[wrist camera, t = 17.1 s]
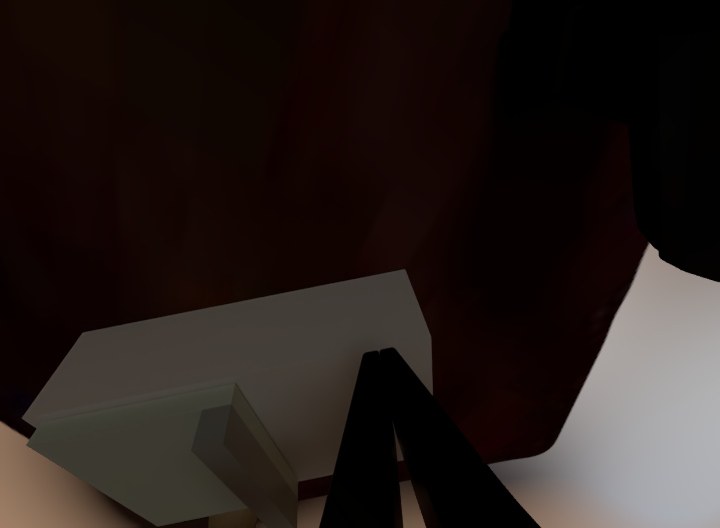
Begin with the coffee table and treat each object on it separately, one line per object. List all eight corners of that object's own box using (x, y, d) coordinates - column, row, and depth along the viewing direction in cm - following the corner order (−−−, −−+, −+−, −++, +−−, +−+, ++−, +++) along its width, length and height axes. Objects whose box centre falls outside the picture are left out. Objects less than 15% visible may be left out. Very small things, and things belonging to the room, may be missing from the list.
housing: (404, 269, 23) (431, 336, 18) (415, 386, 31) (434, 453, 26) (82, 332, 22) (21, 418, 18) (180, 433, 31) (157, 510, 26)
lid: (235, 383, 18) (223, 444, 15) (297, 479, 26) (296, 530, 23) (41, 422, 18) (-4, 489, 15) (163, 507, 26) (147, 561, 23)
